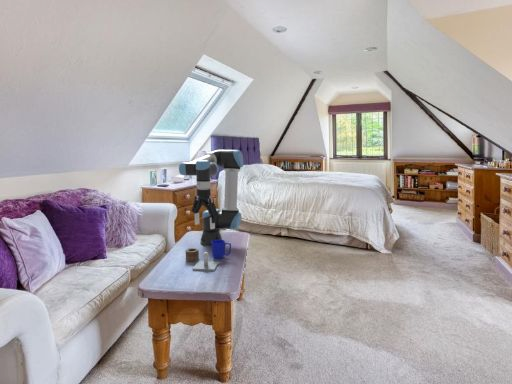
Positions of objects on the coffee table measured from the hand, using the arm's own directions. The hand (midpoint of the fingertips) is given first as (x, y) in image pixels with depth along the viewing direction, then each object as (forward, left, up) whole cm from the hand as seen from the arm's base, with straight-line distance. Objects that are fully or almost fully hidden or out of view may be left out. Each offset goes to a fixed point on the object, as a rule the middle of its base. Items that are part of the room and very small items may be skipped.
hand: (204, 226), depth 181 cm
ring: (-9, -10, -23) cm, 26 cm away
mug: (-14, +6, -23) cm, 28 cm away
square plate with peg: (+1, +1, -23) cm, 23 cm away
